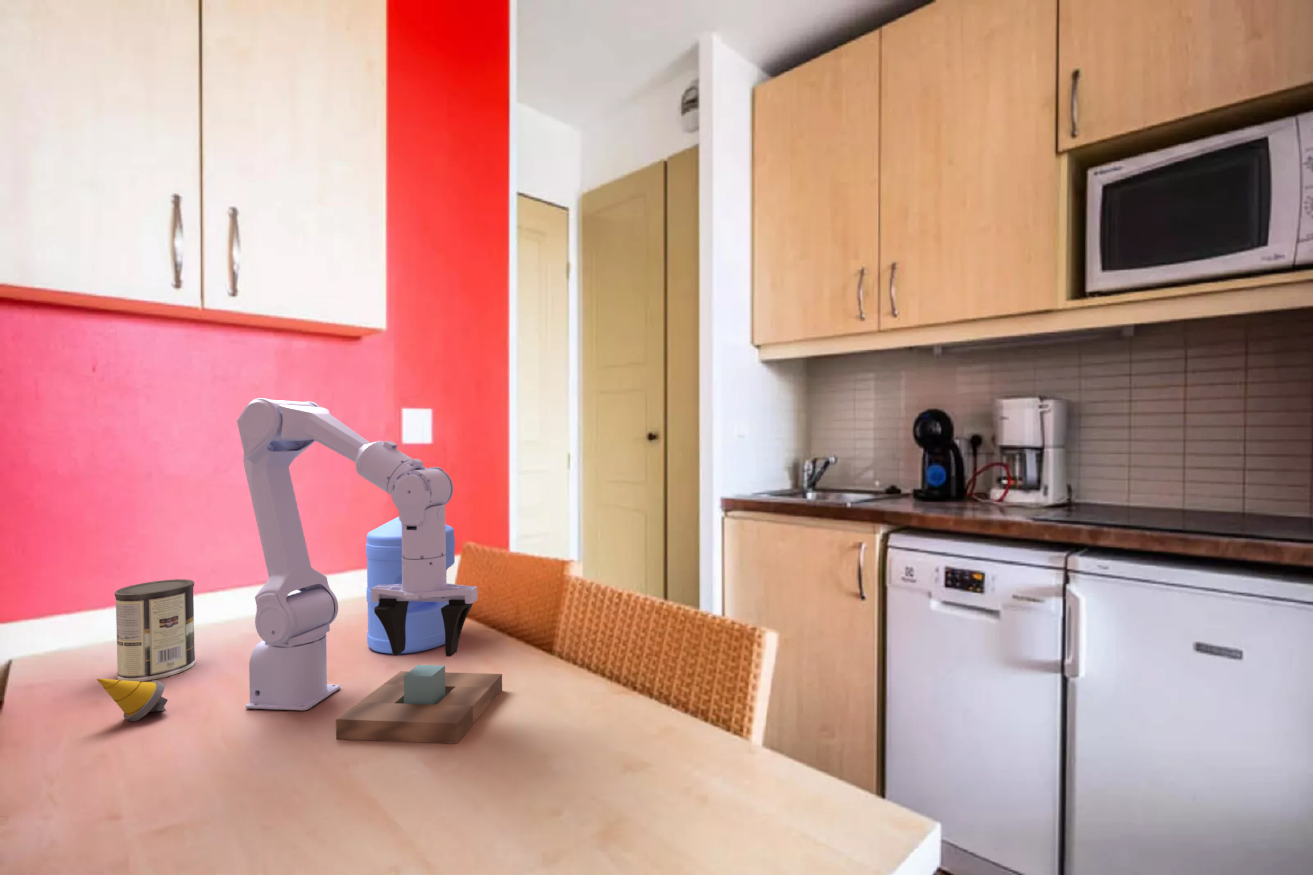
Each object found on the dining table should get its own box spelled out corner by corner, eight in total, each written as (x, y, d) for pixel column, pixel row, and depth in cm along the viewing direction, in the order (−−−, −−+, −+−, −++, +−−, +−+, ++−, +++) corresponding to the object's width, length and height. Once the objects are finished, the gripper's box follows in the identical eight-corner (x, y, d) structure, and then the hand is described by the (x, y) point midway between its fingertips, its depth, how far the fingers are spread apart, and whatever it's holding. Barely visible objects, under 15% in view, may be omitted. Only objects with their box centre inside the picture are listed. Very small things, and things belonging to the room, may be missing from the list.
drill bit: (170, 722, 84) (99, 690, 79) (142, 735, 85) (70, 705, 80) (189, 686, 89) (123, 653, 83) (162, 699, 90) (94, 668, 84)
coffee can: (156, 658, 108) (155, 578, 108) (210, 659, 107) (209, 579, 107) (97, 682, 98) (96, 593, 98) (156, 683, 97) (155, 594, 97)
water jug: (347, 651, 110) (345, 496, 110) (406, 625, 125) (404, 488, 125) (420, 659, 106) (418, 497, 106) (472, 631, 121) (470, 489, 121)
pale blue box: (404, 719, 83) (403, 675, 83) (418, 706, 87) (418, 664, 87) (432, 720, 83) (431, 676, 83) (445, 707, 87) (445, 665, 87)
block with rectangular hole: (336, 738, 78) (335, 719, 78) (400, 687, 94) (400, 671, 94) (457, 743, 76) (456, 723, 76) (502, 690, 92) (502, 673, 92)
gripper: (357, 560, 82) (358, 662, 82) (462, 562, 80) (463, 665, 80) (386, 551, 89) (387, 644, 89) (482, 551, 87) (483, 647, 87)
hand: (425, 653), depth 85 cm, fingers open, 7 cm apart
